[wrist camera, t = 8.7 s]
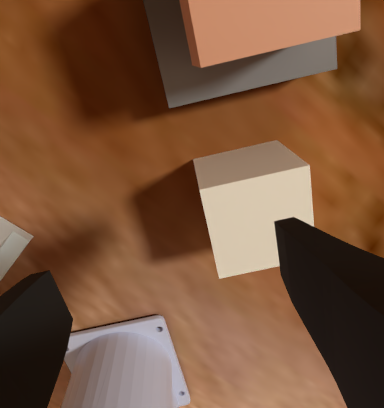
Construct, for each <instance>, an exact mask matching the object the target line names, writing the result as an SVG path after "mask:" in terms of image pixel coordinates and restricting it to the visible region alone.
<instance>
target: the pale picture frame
mask: <svg viewBox="0 0 384 408" xmlns="http://www.w3.org/2000/svg"><path fill="white" fill-rule="evenodd" d="M32 238H33V236H32V235H31V234H29V233H27V232H26V231H24V230H22V229H21V228H19V227H17V226H16V225H14V224H12V223H11V222H9V221H7V220H6V219H4V218H2V217H0V281H1V280H2V278H3V277H4V276H5V274H6V273H7V271H8V270H9V269H10V267H11V266H12V265H13V263H14V262H15V261H16V259H17V258H18V257H19V255H20V254H21V252H22V251H23V250H24V248H25V247H26V246H27V244H28V243H29V242H30V240H31V239H32Z"/></svg>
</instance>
